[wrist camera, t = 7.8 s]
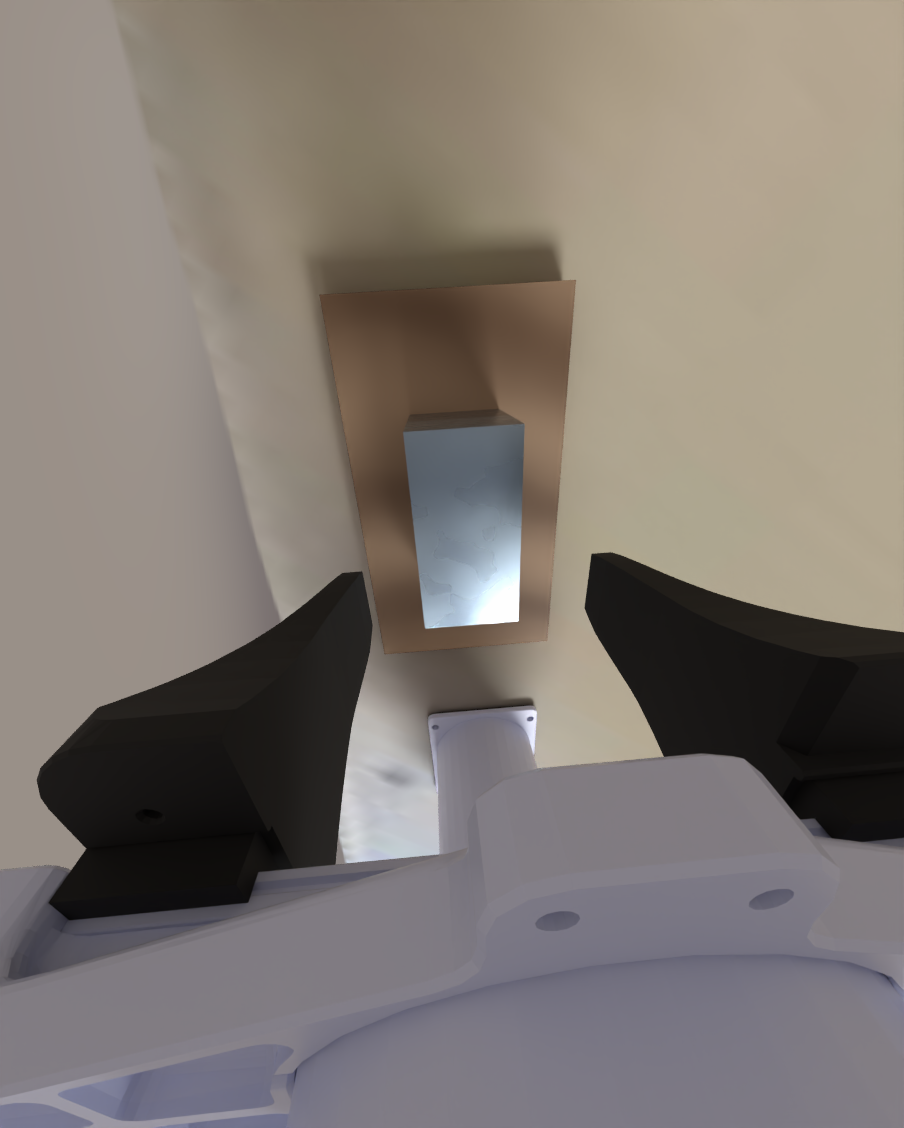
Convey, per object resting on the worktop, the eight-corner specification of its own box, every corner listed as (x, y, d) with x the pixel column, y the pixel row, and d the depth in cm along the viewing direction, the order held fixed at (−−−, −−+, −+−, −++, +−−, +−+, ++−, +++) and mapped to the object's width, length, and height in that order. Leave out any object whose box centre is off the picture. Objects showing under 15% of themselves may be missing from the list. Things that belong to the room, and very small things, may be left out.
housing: (499, 408, 17) (524, 423, 12) (498, 566, 21) (518, 621, 16) (409, 414, 17) (402, 432, 12) (425, 572, 20) (424, 628, 16)
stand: (540, 626, 24) (547, 640, 23) (387, 638, 24) (384, 654, 23) (563, 287, 16) (575, 279, 15) (328, 300, 16) (319, 294, 14)
